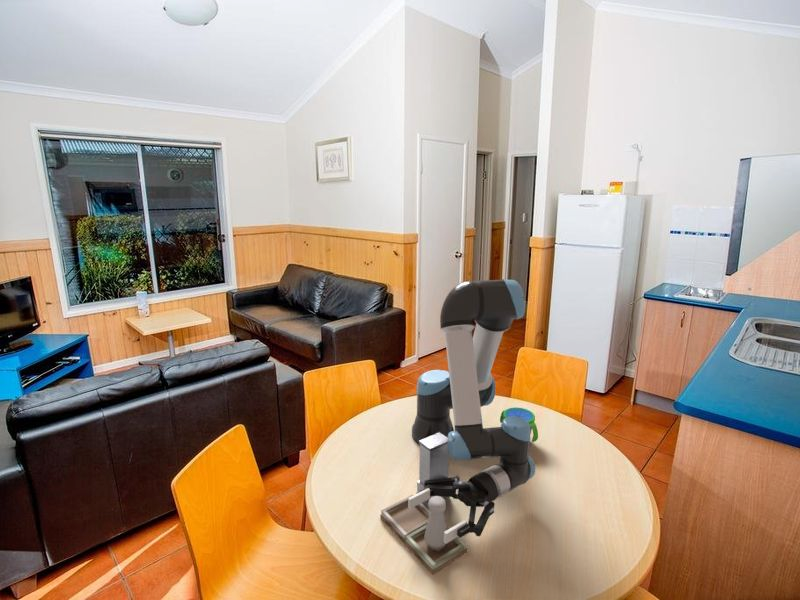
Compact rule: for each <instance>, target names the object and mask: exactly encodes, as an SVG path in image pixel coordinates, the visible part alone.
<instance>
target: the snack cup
mask: <svg viewBox="0 0 800 600" xmlns="http://www.w3.org/2000/svg"><path fill="white" fill-rule="evenodd" d="M509 416H517V417H521V418H523V419H525V420H526V421H527V422H528V423H529V425H530V435H531V434H532V439H531V442H532V443H535V442H537V440H538V439H539V431H538V428H537V424H536V422H535V421H536V416H535V414H534V412H532V411H531V410H528V409H527V408H523V407H509V408H507V409H504V410H502V411H501V414H500V418H499V422H500V424H502V421H503V419H504V418H507V417H509Z"/></svg>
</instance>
